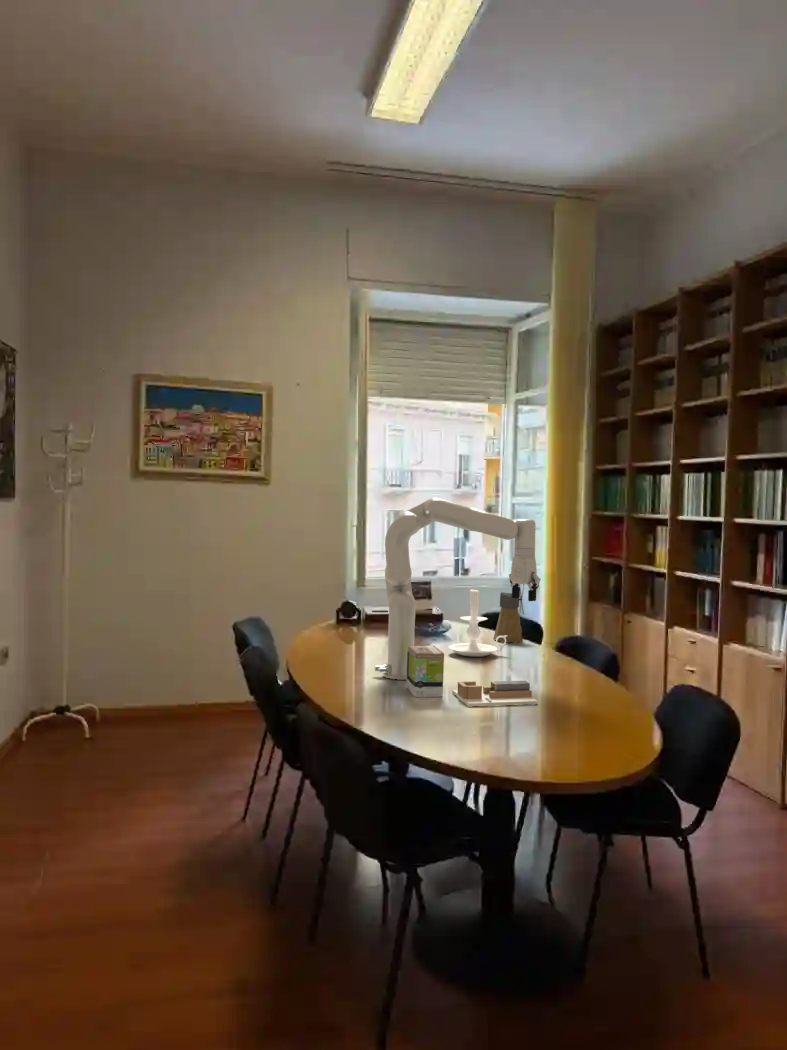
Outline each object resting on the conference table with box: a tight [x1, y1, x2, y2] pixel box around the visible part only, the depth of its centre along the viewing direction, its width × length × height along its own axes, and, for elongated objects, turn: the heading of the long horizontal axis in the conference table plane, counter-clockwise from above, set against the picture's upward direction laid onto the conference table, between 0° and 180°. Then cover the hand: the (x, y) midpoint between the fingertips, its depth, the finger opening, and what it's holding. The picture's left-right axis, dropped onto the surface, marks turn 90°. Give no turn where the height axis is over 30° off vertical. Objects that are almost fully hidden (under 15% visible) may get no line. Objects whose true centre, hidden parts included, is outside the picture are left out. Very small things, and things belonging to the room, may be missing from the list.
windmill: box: [492, 584, 525, 644], centre depth 376 cm, size 21×14×30 cm, turn 164°
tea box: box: [406, 645, 445, 698], centre depth 272 cm, size 15×10×15 cm, turn 9°
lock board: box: [452, 680, 538, 708], centre depth 265 cm, size 23×18×5 cm
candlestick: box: [448, 588, 507, 658], centre depth 338 cm, size 21×25×28 cm
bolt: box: [490, 680, 531, 691], centre depth 266 cm, size 12×4×4 cm, turn 102°
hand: (523, 599), depth 297 cm, fingers open, 9 cm apart
